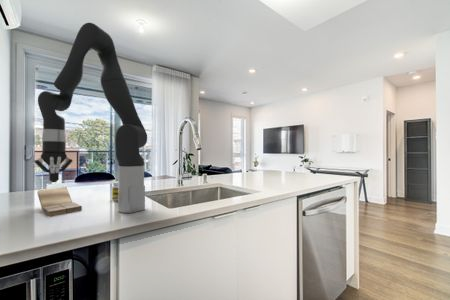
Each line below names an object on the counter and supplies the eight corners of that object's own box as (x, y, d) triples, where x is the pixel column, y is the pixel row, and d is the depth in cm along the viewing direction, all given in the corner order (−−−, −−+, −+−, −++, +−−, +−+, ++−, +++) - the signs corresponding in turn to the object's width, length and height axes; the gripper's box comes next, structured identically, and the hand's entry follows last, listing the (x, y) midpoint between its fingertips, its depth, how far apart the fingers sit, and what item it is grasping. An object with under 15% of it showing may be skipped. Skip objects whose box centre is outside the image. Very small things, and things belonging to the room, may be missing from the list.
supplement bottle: (112, 201, 96) (112, 182, 96) (112, 199, 100) (112, 181, 100) (123, 199, 98) (123, 182, 98) (123, 197, 102) (123, 180, 102)
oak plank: (71, 204, 88) (72, 202, 87) (42, 209, 80) (42, 207, 80) (65, 189, 93) (66, 187, 92) (37, 193, 85) (37, 190, 85)
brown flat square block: (81, 210, 81) (81, 205, 81) (49, 216, 74) (49, 211, 74) (73, 206, 87) (73, 202, 87) (42, 211, 80) (42, 207, 80)
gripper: (35, 139, 80) (35, 185, 80) (75, 141, 90) (75, 181, 90) (31, 140, 84) (30, 183, 84) (70, 141, 95) (69, 179, 95)
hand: (54, 182), depth 87 cm, fingers closed
